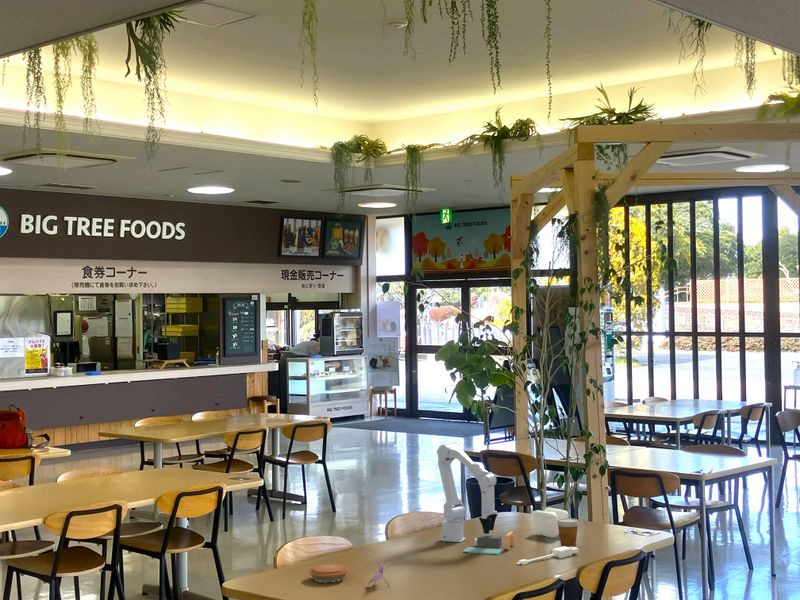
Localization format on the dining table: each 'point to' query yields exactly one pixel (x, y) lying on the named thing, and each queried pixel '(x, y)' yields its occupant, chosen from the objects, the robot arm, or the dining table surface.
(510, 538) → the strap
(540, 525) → the cable organizer
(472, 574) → the dining table surface
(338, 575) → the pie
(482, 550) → the mat
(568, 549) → the charging cable
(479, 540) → the grey box
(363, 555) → the dining table surface
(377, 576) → the lily
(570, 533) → the disposable coffee cup
